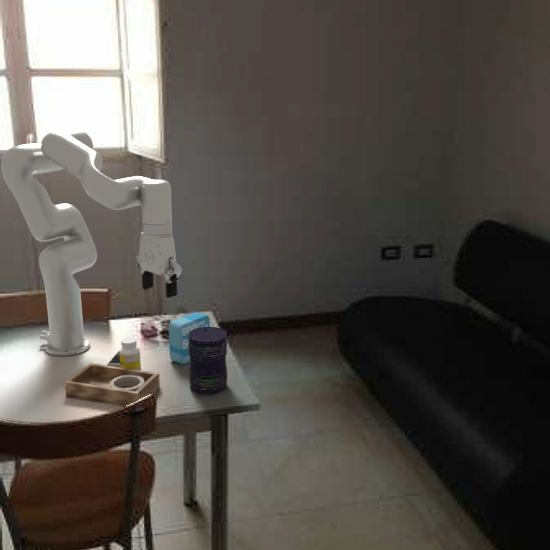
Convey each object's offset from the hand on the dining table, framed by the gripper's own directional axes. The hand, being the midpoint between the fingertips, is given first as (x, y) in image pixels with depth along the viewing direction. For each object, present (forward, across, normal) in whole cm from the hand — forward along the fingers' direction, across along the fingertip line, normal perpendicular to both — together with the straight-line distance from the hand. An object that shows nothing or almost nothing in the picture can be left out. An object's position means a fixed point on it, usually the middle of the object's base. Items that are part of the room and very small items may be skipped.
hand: (159, 292), depth 174 cm
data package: (+23, -2, +12) cm, 26 cm away
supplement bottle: (+23, -5, -7) cm, 25 cm away
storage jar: (+23, +16, +2) cm, 28 cm away
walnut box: (+23, 0, -16) cm, 28 cm away
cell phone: (+24, -14, -3) cm, 27 cm away
